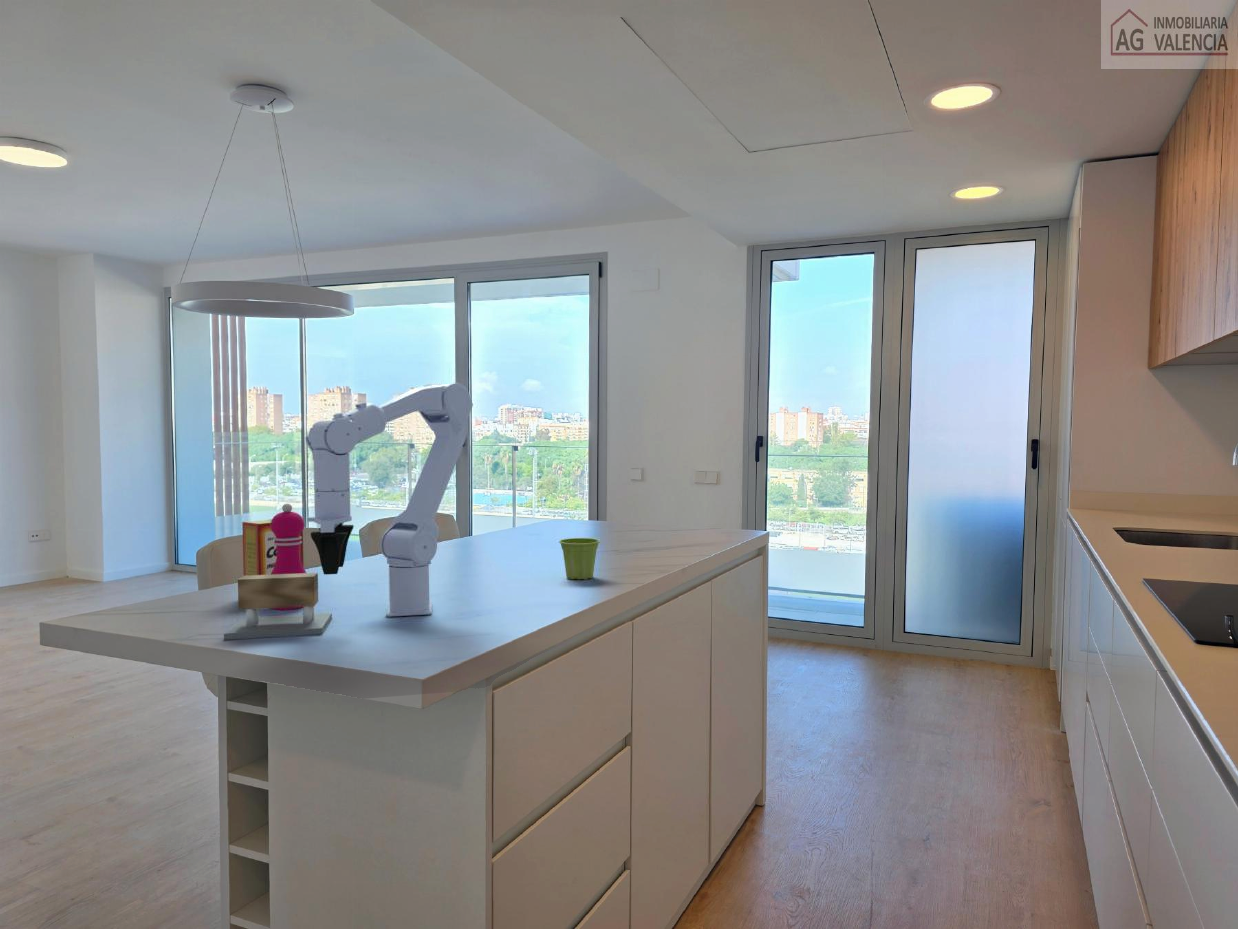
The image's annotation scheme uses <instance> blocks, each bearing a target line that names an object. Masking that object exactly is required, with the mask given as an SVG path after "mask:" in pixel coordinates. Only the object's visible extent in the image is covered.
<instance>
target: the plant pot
mask: <svg viewBox="0 0 1238 929" xmlns="http://www.w3.org/2000/svg"><path fill="white" fill-rule="evenodd" d="M558 543H559V544H560V546H561V550H562V553H563V561H564V568H565V575H566V576H565V577H566V578H567V579H570V580H575V579H577V580H579V581H581V580H580V579H584V580H589V579H588V578H590V579H592V578H594V571H595V563H596V555H597V550H598V547H599V543H601V540H600V539H599V538H589V537H574V538H565V539H564V538H563V539H560V540H559V541H558Z"/></svg>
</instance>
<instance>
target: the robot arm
mask: <svg viewBox="0 0 1238 929" xmlns="http://www.w3.org/2000/svg"><path fill="white" fill-rule="evenodd" d="M468 390H469V389H467V387H466V386H465V385H463V384H462V383H460V382H453V383H448V384H447V383H446V384H433V385H431V384H424V385H422V386H420V387H415V388H412V389H410V390H408V391H406V392H405V393H402V394H400V395H398V396H396V397H393V398H391V399H390V400H388V401H386V402H384V403H382V404H380V405H376V404H374V403H371V402H368V403H367V402H365V401H364V402H363V401H362V402H359V403H356V404H355V408H354V409H351V410H349V411H346V412H344V413H342V412H337V413H334V414H333V416H332V417H333V418H331V419H330V420H318V421H317V422H315V423H314V424H312V427H310V429H309V432H308V434H307V436H305V443H306V445H307V448H308V449H309V450H310V452H311V455H312V461H313V487H314V488H313V492H314V496H313V497H314V516H308V517H307V519H306V520H307V522H310V523H311V522H313V523H315V524H318V525H320V527H319V528H318V530H319V531H311V532H310V538H311V540H312V541H313V543H314V545H315V547H316V549H317V553H318V556H319V560H320V565H321V566H320V567H321V569H322V572H323V575H326V576H327V575H337V574H338V573H339V569H340V568H343V567H344V565H345V559H346V553H347V548H348V544H349V543H348V542H349V539H350V537H351V534H352V532H353V529H354V527H355V526H354V524H345V523H348V522H352V520H353V516H352V514H351V486H350V483H351V482H350V480H351V479H350V478H351V477H350V469H351V468H350V467H351V465H350V453H352V451H353V450H354V449H355V447H356V446H357V445H358V444H360V443H362V442H364V441H366V440H369V439H371V438H373V437H375V436H378V435H379V434H381V433H383V432H384V431H385V429H386V427H387V423H389V422H391V421H394V420H397V419H399V418H402V417H404V416H407V415H409V414H413V413H416V412H418V413H419V414H420V415H421V417H422V418H423V420H424V421H425V423H426V424H427V425H428V427H429V428H430V430H431V431H432V432H433V433H434V436H435V438H434V440H433V442H432V445H431V448H430V449H429V452H428V454H427V457H426V460H425V462H424V465H423V468H422V469H421V472H420V474H419V477H418V479H417V481H416V484H415V486H414V489H413V492H412V494H411V496H410V499H409V502H407V506H406V508H405V510H404V511H402V512H400V514H399V515H397V516H395V517H394V518H393V520H392V522H391V525H390V526H389V527H388V528H387V529H386V530H385V531H384V532H383V534H382V535H381V538H380V543H379V546H380V552H381V554H382V555H383V557H385V558H386V564H387V565H388V586H389V589H388V592H389V594H388V595H389V598H388V599H389V605H388V607H387V609H386V610H387V611H386V613H385V616H386V617H405V616H421V615H422V616H423V615H431V614H432V612H433V610H432V609H433V602H432V601H430V565H431V564H432V560H433V559H434V558H435V555H436V554H437V550H438V537H439V536H440V535H439V534H440V531H441V530H440V527H439V526H438V524H437V523H436V520H435V519H436V515H437V513H438V510H439V507H440V505H441V502H442V500H443V497H444V494H445V492H446V489H447V487H448V485H449V482H450V480H451V477H452V475H453V472H454V470H455V466H456V465H457V462H458V459H459V457H460V454H461V452H462V449H463V447H464V444H465V441H466V439H467V431H468V430H467V429H468V419H469V415H470V413H471V411H472V408H473V406H474V404H473V402H472V401H473V400H472V398H471V394H470V393H469V391H468Z"/></svg>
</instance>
